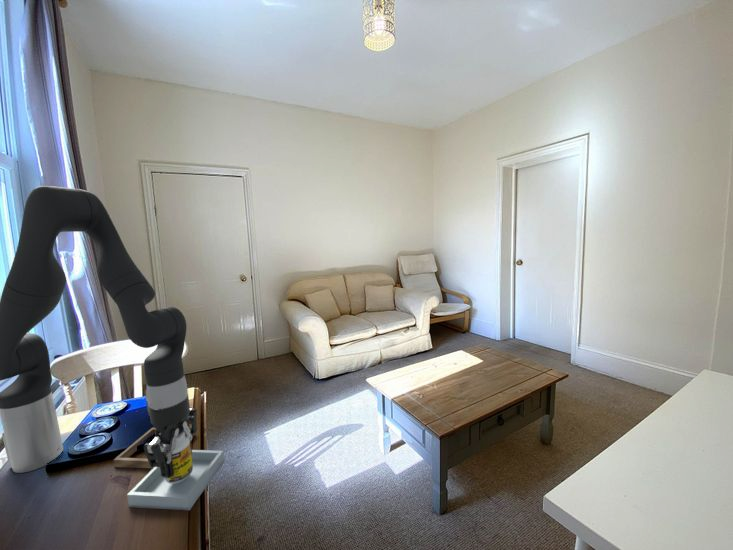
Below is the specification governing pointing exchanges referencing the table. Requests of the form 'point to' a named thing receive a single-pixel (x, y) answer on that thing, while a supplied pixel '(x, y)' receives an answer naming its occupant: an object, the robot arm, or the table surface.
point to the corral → (124, 458)
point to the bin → (177, 484)
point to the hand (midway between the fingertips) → (178, 465)
